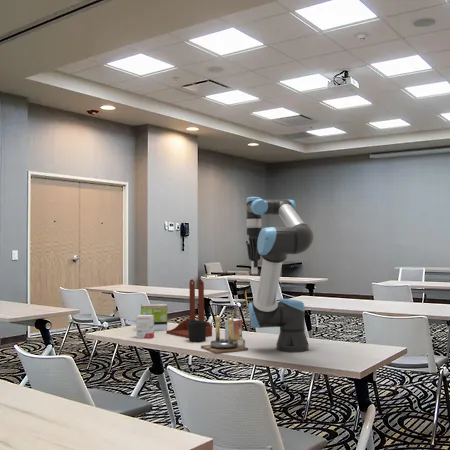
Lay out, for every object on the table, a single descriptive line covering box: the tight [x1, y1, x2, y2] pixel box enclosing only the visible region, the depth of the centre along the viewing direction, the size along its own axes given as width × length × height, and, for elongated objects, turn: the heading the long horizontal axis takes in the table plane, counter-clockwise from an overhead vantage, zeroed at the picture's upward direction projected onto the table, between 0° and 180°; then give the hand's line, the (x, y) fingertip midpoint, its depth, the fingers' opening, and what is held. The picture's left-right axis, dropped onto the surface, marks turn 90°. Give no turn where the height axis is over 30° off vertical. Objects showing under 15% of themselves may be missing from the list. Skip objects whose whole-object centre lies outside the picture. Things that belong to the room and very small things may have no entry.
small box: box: [224, 318, 243, 341], centre depth 278 cm, size 8×6×10 cm
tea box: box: [140, 303, 168, 332], centre depth 314 cm, size 15×10×15 cm, turn 102°
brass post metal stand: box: [210, 315, 238, 348], centre depth 256 cm, size 13×13×14 cm
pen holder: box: [188, 319, 207, 343], centre depth 278 cm, size 9×9×10 cm
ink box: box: [135, 314, 155, 339], centre depth 289 cm, size 9×5×12 cm, turn 79°
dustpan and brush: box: [166, 278, 213, 339], centre depth 296 cm, size 24×13×30 cm, turn 41°
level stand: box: [200, 336, 249, 355], centre depth 255 cm, size 17×17×6 cm
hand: (254, 273), depth 274 cm, fingers closed
